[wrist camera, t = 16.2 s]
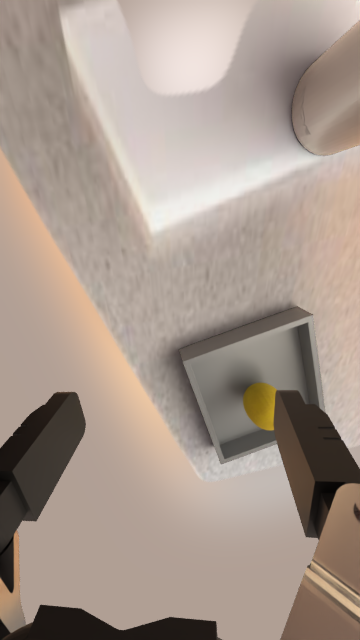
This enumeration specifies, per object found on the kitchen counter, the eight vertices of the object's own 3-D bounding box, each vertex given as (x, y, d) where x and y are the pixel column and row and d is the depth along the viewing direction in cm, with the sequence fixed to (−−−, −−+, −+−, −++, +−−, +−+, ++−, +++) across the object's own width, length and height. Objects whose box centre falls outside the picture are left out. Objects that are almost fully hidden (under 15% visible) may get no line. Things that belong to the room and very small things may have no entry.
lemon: (247, 408, 41) (271, 449, 34) (228, 387, 39) (249, 426, 32) (275, 388, 40) (306, 425, 33) (258, 365, 38) (286, 400, 31)
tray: (297, 306, 37) (313, 314, 33) (312, 410, 44) (327, 425, 41) (178, 349, 36) (182, 361, 33) (214, 446, 44) (220, 464, 41)
